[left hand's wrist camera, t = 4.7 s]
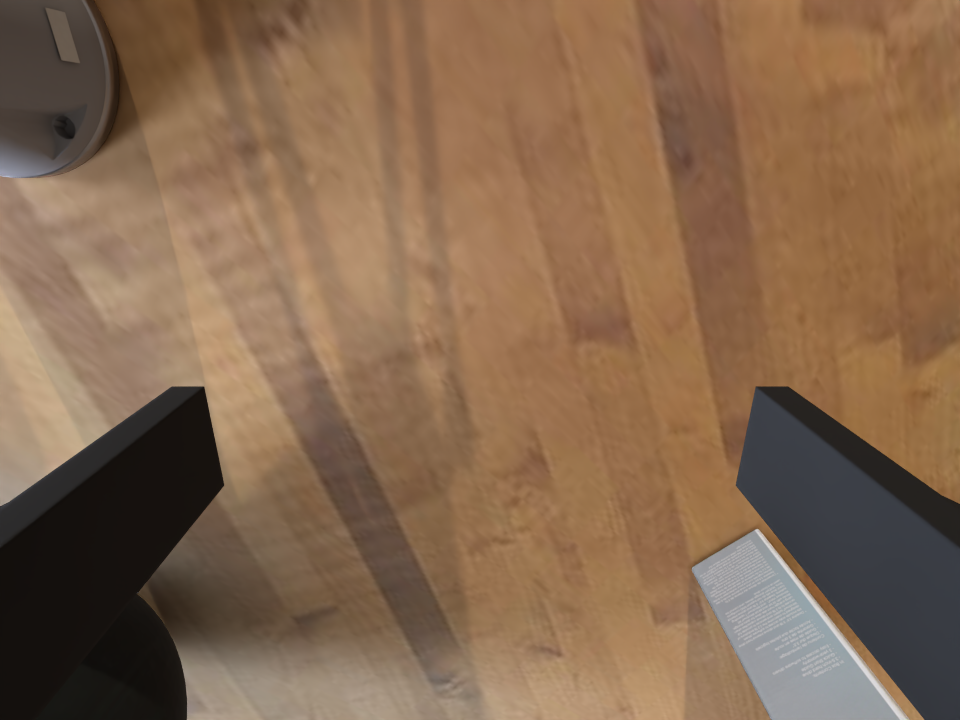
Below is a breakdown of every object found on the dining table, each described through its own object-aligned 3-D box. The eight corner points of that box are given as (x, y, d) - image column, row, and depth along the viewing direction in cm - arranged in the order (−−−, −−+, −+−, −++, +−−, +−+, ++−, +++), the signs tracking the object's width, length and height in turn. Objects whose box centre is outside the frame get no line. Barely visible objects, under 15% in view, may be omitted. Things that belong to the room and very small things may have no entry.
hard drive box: (834, 622, 52) (1036, 879, 33) (766, 658, 53) (921, 922, 35) (757, 524, 47) (937, 755, 29) (686, 566, 49) (812, 810, 30)
